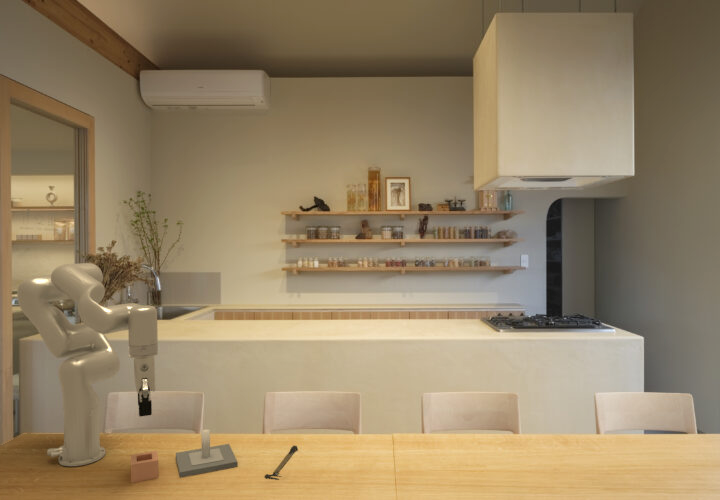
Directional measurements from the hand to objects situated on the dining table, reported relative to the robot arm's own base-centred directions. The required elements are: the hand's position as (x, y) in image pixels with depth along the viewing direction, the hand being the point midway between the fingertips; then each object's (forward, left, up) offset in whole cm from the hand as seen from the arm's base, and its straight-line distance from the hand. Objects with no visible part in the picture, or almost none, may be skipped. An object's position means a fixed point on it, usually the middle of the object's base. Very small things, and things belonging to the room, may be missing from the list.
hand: (144, 409), depth 145 cm
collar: (0, 0, -19) cm, 19 cm away
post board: (+17, +1, -19) cm, 25 cm away
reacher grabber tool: (+39, -10, -19) cm, 44 cm away
